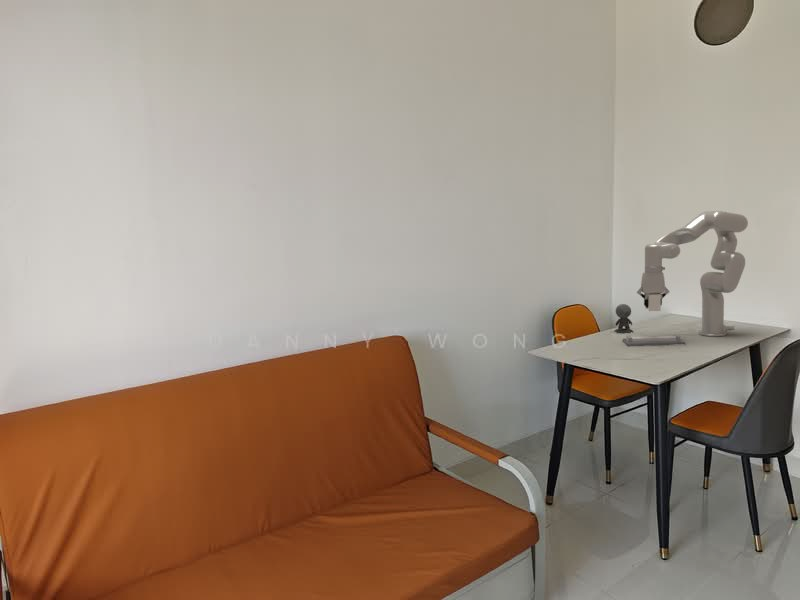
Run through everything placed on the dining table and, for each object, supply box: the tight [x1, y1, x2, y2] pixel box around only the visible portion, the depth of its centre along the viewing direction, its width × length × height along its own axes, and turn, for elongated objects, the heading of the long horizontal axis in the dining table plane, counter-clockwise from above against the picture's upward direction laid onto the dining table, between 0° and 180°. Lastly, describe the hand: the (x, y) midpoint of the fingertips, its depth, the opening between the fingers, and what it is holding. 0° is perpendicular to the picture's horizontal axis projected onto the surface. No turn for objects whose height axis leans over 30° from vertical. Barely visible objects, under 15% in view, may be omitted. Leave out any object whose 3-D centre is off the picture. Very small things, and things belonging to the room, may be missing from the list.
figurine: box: [614, 303, 634, 334], centre depth 297 cm, size 9×10×15 cm
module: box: [644, 293, 662, 312], centre depth 268 cm, size 5×8×9 cm, turn 169°
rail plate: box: [622, 333, 686, 347], centre depth 270 cm, size 26×11×3 cm, turn 80°
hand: (652, 306), depth 269 cm, fingers closed on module, 5 cm apart
